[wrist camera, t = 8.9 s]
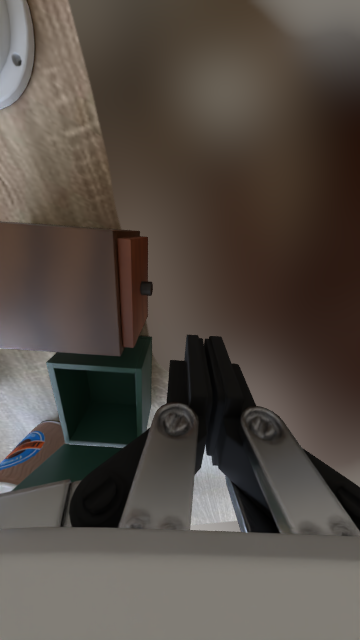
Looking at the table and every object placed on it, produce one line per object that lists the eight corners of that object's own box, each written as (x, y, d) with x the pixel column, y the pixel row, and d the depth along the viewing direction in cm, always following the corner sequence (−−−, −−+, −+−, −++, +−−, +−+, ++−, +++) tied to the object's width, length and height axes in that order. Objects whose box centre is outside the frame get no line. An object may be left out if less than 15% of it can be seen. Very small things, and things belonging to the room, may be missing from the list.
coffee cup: (60, 408, 39) (11, 478, 28) (89, 442, 42) (55, 516, 31) (17, 421, 40) (-45, 492, 29) (48, 453, 44) (3, 527, 33)
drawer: (157, 237, 25) (144, 240, 17) (155, 317, 30) (144, 348, 22) (44, 229, 25) (-21, 228, 17) (59, 310, 30) (12, 339, 22)
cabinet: (139, 231, 26) (112, 230, 16) (140, 317, 31) (120, 356, 21) (30, 223, 26) (-63, 217, 16) (48, 311, 31) (-15, 347, 21)
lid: (-56, 549, 15) (-72, 637, 14) (105, 559, 15) (97, 647, 14) (63, 443, 30) (58, 483, 29) (142, 448, 30) (138, 488, 29)
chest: (78, 331, 32) (45, 362, 24) (152, 336, 32) (141, 368, 24) (89, 401, 38) (65, 443, 30) (151, 405, 38) (142, 448, 30)
